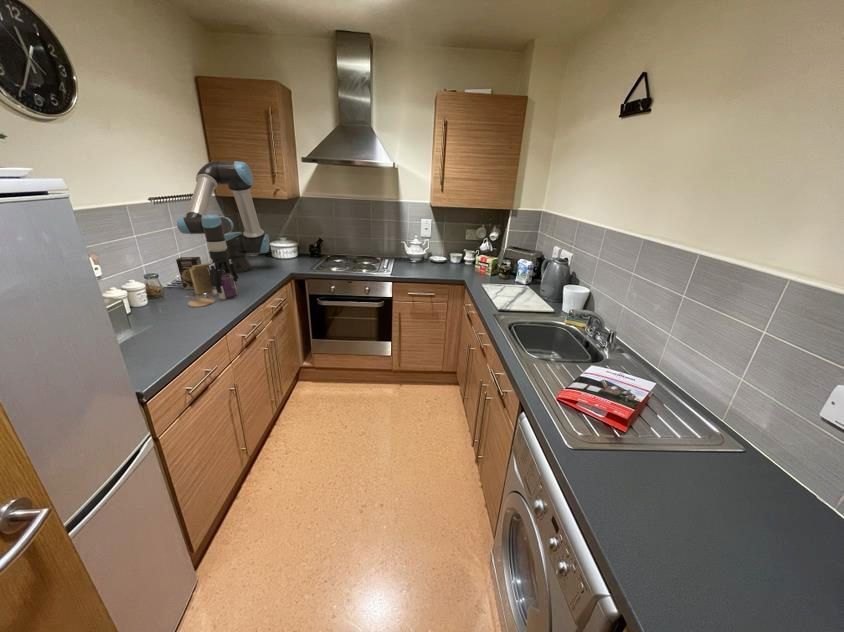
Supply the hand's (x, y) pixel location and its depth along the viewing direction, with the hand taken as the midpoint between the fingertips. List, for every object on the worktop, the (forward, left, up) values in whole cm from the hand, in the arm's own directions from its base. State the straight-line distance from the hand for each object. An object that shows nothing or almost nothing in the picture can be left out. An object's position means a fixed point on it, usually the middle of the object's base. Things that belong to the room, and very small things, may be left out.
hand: (228, 296), depth 158 cm
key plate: (0, -14, -1) cm, 14 cm away
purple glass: (0, 0, -1) cm, 1 cm away
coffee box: (-8, -28, -1) cm, 29 cm away
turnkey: (-6, -11, +1) cm, 13 cm away
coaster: (+10, -6, -1) cm, 12 cm away
